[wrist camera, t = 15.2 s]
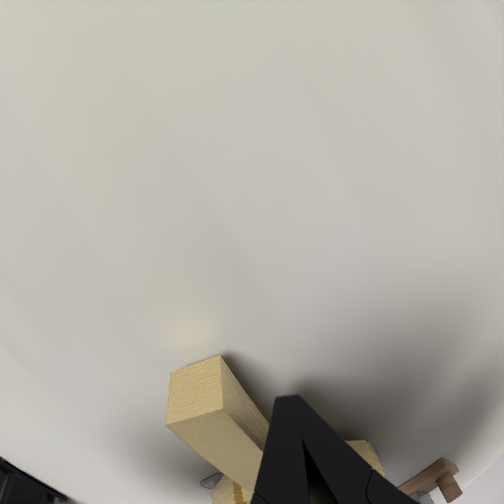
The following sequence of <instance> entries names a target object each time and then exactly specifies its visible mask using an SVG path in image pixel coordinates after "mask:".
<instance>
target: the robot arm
mask: <svg viewBox="0 0 504 504" xmlns="http://www.w3.org/2000/svg"><path fill="white" fill-rule="evenodd" d="M66 503H67V498H65V497H63V496H61V495H59V494H57V493H55V492H54V491H52V490H50V489H48V488H46V487H44V486H42V485H41V484H39V483H37V482H35V481H34V480H32V479H30V478H29V477H27V476H25V475H24V474H22V473H21V472H19V471H17V470H16V469H14V468H13V467H11V466H10V465H8V464H7V463H5V462H4V461H3V460H1V459H0V504H66ZM250 504H421V503H419V502H418V501H416V500H414V499H413V498H411V497H410V496H408V495H407V494H405V493H404V492H402V491H401V490H399V489H398V488H397V487H395V486H394V485H393V484H392V483H390V482H389V481H388V480H387V479H386V478H384V477H383V476H382V475H381V474H380V473H379V472H378V471H377V470H376V469H373V467H372V466H371V465H370V464H369V463H368V462H367V461H366V460H365V459H364V458H363V457H361V456H360V455H359V454H358V453H357V452H356V451H355V450H354V449H353V448H352V447H351V446H350V445H349V444H348V443H347V442H346V441H345V440H344V439H343V438H342V437H341V436H340V435H339V434H338V433H337V432H336V431H335V430H334V429H333V428H332V427H331V426H330V425H329V424H328V423H327V422H326V421H325V420H324V419H323V418H322V417H321V416H320V415H319V414H318V413H317V412H316V411H315V410H314V409H313V408H312V407H311V406H310V405H309V404H308V403H307V402H306V401H305V400H304V399H303V398H302V397H301V396H300V395H299V394H291V395H283V396H277V397H276V398H275V402H274V406H273V411H272V416H271V420H270V425H269V429H268V433H267V438H266V442H265V446H264V451H263V455H262V459H261V463H260V467H259V471H258V475H257V479H256V483H255V487H254V493H253V494H252V498H251V501H250Z"/></svg>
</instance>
